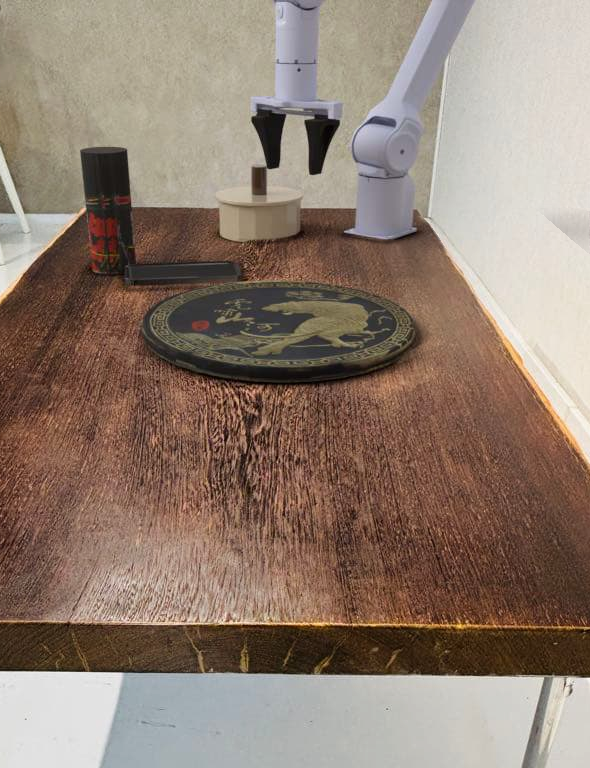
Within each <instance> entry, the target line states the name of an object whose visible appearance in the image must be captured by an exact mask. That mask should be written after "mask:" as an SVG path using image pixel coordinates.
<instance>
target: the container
mask: <svg viewBox="0 0 590 768" xmlns="http://www.w3.org/2000/svg"><path fill="white" fill-rule="evenodd" d="M217 201H218V200H217ZM301 203H302V200H300V201H298V202H295V203H291V204H285V205H276V206H242V205H233V204H227V203H223V202H220V201H218V231H219V235H220V237H221V238H223V239H226V240H229V241H233V242H237V243H238V242H239V243H245V242H248V241H252V240H275V239H276V240H277V239H282V238H284V239H285V238H288V237H292V236H295V235H297V234H298V233H299V232H300V231H301V213H302V212H301V209H302V208H301V207H302V204H301Z"/></svg>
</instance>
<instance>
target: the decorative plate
mask: <svg viewBox="0 0 590 768" xmlns="http://www.w3.org/2000/svg"><path fill="white" fill-rule="evenodd" d="M141 339H142V340H143V341H144V343H145V345H146V347H147V348H148V349H149V350H150V351H151V352H152V353H154V355H156V356H157V357H159V358H160V359H163V360H165V361H166V362H168V363H170V364H172V365H174V366H177V367H179V368H183V369H186V370H189V371H192V372H195V373H199V374H202V375H203V374H204V375H208V376H212V377H213V376H214V377H217V378H223V379H231V380H238V381H245V382H259V383H280V384H281V383H311V382H319V381H329V380H336V379H343V378H349V377H353V376H359V375H363V374H367V373H370V372H374V371H377V370H379V369H382V368H385V367H387V366H389V365H392V364H393V363H396V362H397V361H399V360H401V359H402V358H404V356H405V355H406V354H408V353H409V352H410V350H411V349H410V348H411V347H412V346H413V343H414V341H415V339H416V327H415V322H414V319H413V318H412V316H411V315H410V313H409V312H408V311H407V310H406V309H404V308H403V307H402V306H400V305H399V304H397V302H394V301H391V300H389V299H387V298H384V297H383V296H380V295H377V294H374V293H371V292H368V291H366V290H365V291H364V290H361V289H356V288H352V287H348V286H342V285H335V284H330V283H322V282H312V281H301V280H300V281H299V280H298V281H297V280H251V281H238V282H225V283H220V284H212V285H207V286H202V287H197V288H192V289H188V290H185V291H181V292H179V293H176V294H172V295H170V296H168V297H166V298H164V299H161V300H160V301H158V302H157V303H155V304H154V305H153V306H152V307H150V308H149V309H148V310H147V312H146V313H145V315H144V316H143V317H142V321H141Z"/></svg>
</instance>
